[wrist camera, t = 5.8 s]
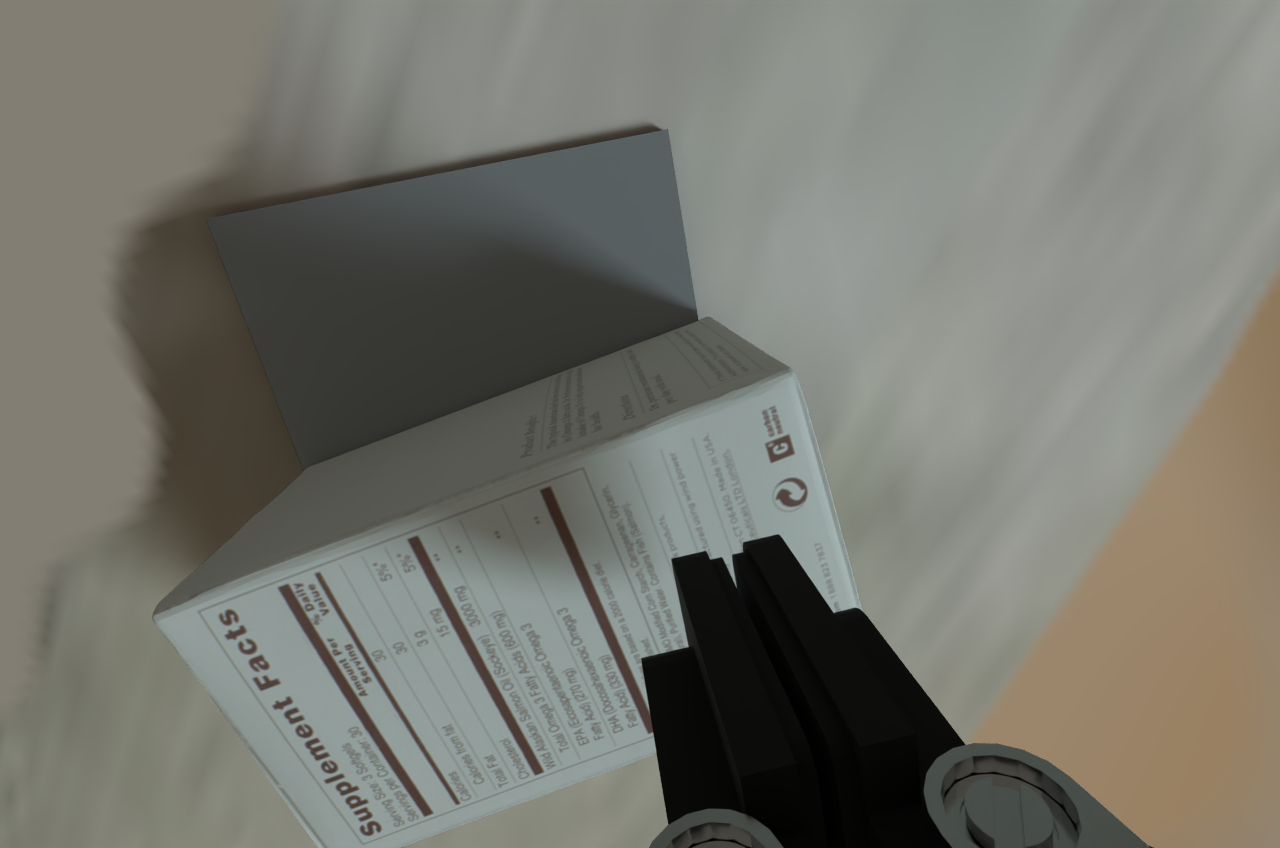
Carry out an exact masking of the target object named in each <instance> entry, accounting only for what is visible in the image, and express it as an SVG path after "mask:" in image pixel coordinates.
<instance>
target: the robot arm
mask: <svg viewBox="0 0 1280 848" xmlns="http://www.w3.org/2000/svg"><path fill="white" fill-rule="evenodd" d="M671 562H672V567H673V573H674V578H675V582H676V587H677V592H678V597H679V602H680V607H681V612H682V617H683V622H684V627H685V632H686V637H687V642H688V646H689V647H686V648H682V649H677V650H673V651H669V652H665V653H660V654H656V655H652V656H648V657H643V658H641V662H642V668H643V674H644V680H645V687H646V693H647V699H648V705H649V711H650V717H651V723H652V729H653V735H654V741H655V747H656V753H657V759H658V765H659V771H660V777H661V783H662V789H663V795H664V801H665V807H666V813H667V819H668V826H667V827H666V828H665V829H664V830H663V831H662V832H661V833H660V834H659V835H658V836H657V837H656V838H655V839H654V840H653V841H652V843H651V845H650V847H649V848H1153V847H1150V846H1148V845H1147V844H1146V843H1145V842H1143V841H1142V840H1141V839H1140V838H1139V837H1138V836H1137V835H1136V834H1134V833H1133V832H1132V831H1131V830H1130V829H1129V828H1127V827H1126V826H1125V825H1124V824H1123V823H1122V822H1121V821H1120V820H1119V819H1117V818H1116V817H1115V816H1114V815H1113V814H1112V813H1111V812H1109V811H1108V810H1107V809H1106V808H1105V807H1104V806H1103V805H1101V804H1100V803H1099V802H1098V801H1097V800H1096V799H1095V798H1094V797H1092V796H1091V795H1090V794H1089V793H1088V792H1087V791H1086V790H1085V789H1083V788H1082V787H1081V786H1080V785H1079V784H1078V783H1076V782H1075V781H1074V780H1073V779H1072V778H1071V777H1070V776H1068V775H1067V774H1065V773H1064V772H1063V771H1061V770H1060V769H1058V768H1057V767H1056V766H1054V765H1053V764H1051V763H1050V762H1048V761H1046V760H1044V759H1042V758H1040V757H1038V756H1035V755H1033V754H1031V753H1029V752H1027V751H1025V750H1022V749H1018V748H1013V747H1009V746H1005V745H1001V744H988V743H987V744H986V743H972V744H968V745H965V744H964V742H963V741H962V740H961V738H960V737H959V736H958V734H957V733H956V732H955V731H954V729H953V728H952V727H951V725H950V724H949V723H948V721H947V720H946V719H945V717H944V716H943V715H942V714H941V712H940V711H939V710H938V708H937V707H936V706H935V704H934V703H933V702H932V700H931V699H930V698H929V697H928V695H927V694H926V693H925V691H924V690H923V689H922V687H921V686H920V685H919V683H918V682H917V681H916V680H915V678H914V677H913V676H912V674H911V673H910V672H909V670H908V669H907V668H906V667H905V665H904V664H903V663H902V661H901V660H900V659H899V657H898V656H897V655H896V653H895V652H894V651H893V650H892V648H891V647H890V646H889V644H888V643H887V642H886V640H885V639H884V638H883V636H882V635H881V634H880V633H879V631H878V630H877V629H876V627H875V626H874V625H873V623H872V622H871V621H870V619H869V618H868V617H867V616H866V615H865V614H864V612H863V611H862V610H861V609H858V608H856V607H855V608H851V609H847V610H843V611H838V612H834V613H833V611H832V610H831V608H830V607H829V605H828V604H827V602H826V601H825V599H824V598H823V597H822V595H821V594H820V592H819V591H818V589H817V588H816V586H815V585H814V583H813V582H812V580H811V579H810V578H809V576H808V575H807V573H806V572H805V570H804V569H803V567H802V566H801V564H800V563H799V562H798V560H797V559H796V557H795V556H794V554H793V553H792V551H791V550H790V548H789V547H788V545H787V544H786V543H785V541H784V540H783V538H782V537H781V536H780V535H779V534H777V535H772V536H768V537H764V538H759V539H755V540H750V541H746V542H743V552H741V553H737V554H733V555H732V562H733V568H734V574H735V580H736V585H735V583H734V581H733V579H732V577H731V575H730V572H729V570H728V568H727V566H726V564H725V562H724V560H723V558H722V557H719V558H715V559H711V560H710V558H709V556H708V553H707V552H706V551H703V552H698V553H694V554H689V555H685V556H681V557H676V558H672V559H671ZM736 586H737V587H736Z"/></svg>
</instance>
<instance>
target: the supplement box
mask: <svg viewBox="0 0 1280 848" xmlns="http://www.w3.org/2000/svg"><path fill="white" fill-rule="evenodd" d="M777 534H779V535H780V536H781V537H782V538H783V540H784V541H785V543H786V544H787V545H788V547H789V548H790V550H791V551H792V553H793V554H794V556H795V557H796V559H797V560H798V562H799V563H800V564H801V566H802V567H803V569H804V570H805V572H806V573H807V575H808V576H809V578H810V579H811V580H812V582H813V583H814V585H815V586H816V588H817V589H818V591H819V592H820V594H821V595H822V597H823V598H824V599H825V601H826V602H827V604H828V605H829V607H830V608H831V610H832V611H833V613H834V612H838V611H843V610H847V609H851V608H855V607H856V608H858V609H861V610H862V607H861V603H860V600H859V596H858V592H857V588H856V584H855V580H854V576H853V572H852V568H851V565H850V561H849V558H848V554H847V550H846V547H845V543H844V539H843V536H842V532H841V528H840V524H839V520H838V517H837V513H836V509H835V505H834V502H833V498H832V494H831V491H830V487H829V483H828V480H827V476H826V472H825V469H824V465H823V461H822V458H821V454H820V451H819V447H818V443H817V440H816V436H815V433H814V430H813V426H812V423H811V420H810V416H809V412H808V409H807V405H806V401H805V398H804V395H803V392H802V389H801V386H800V383H799V381H798V378H797V376H796V374H795V372H794V371H793V370H792V369H791V368H790V367H788V366H787V365H785V364H783V363H781V362H780V361H778V360H776V359H775V358H773V357H771V356H770V355H768V354H766V353H765V352H763V351H762V350H760V349H759V348H757V347H756V346H754V345H753V344H751V343H749V342H748V341H746V340H745V339H743V338H742V337H740V336H738V335H737V334H735V333H734V332H732V331H731V330H729V329H728V328H726V327H725V326H723V325H722V324H720V323H719V322H717V321H716V320H714V319H713V318H711V317H705V318H703V319H701V320H699V321H696V322H694V323H691V324H688V325H686V326H683V327H680V328H678V329H675V330H672V331H670V332H667V333H665V334H662V335H659V336H657V337H654V338H651V339H648V340H645V341H643V342H640V343H637V344H635V345H632V346H629V347H627V348H624V349H622V350H619V351H617V352H614V353H611V354H609V355H606V356H603V357H601V358H598V359H595V360H593V361H590V362H588V363H585V364H582V365H580V366H577V367H574V368H571V369H569V370H566V371H563V372H561V373H558V374H555V375H552V376H550V377H547V378H544V379H542V380H539V381H536V382H534V383H531V384H529V385H526V386H523V387H521V388H518V389H515V390H513V391H510V392H507V393H505V394H502V395H499V396H496V397H494V398H491V399H488V400H486V401H483V402H481V403H478V404H475V405H473V406H470V407H467V408H465V409H462V410H459V411H457V412H454V413H451V414H449V415H446V416H443V417H440V418H438V419H435V420H432V421H430V422H427V423H425V424H422V425H419V426H417V427H414V428H411V429H409V430H406V431H403V432H401V433H398V434H395V435H393V436H390V437H387V438H385V439H382V440H379V441H377V442H374V443H371V444H369V445H366V446H363V447H361V448H358V449H355V450H353V451H350V452H347V453H345V454H342V455H340V456H337V457H334V458H332V459H329V460H327V461H324V462H321V463H318V464H316V465H313V466H310V467H308V468H307V469H306V470H304V471H303V472H302V474H301V475H300V476H299V477H298V478H297V479H295V480H294V481H293V482H292V483H291V484H290V485H289V486H288V487H287V488H286V489H284V490H283V491H282V492H281V493H280V494H279V495H278V496H277V497H276V498H275V499H273V500H272V501H271V502H270V503H269V504H268V505H267V506H266V507H265V508H263V509H262V510H261V511H260V512H258V513H257V514H255V515H254V516H253V517H252V518H251V519H250V520H249V521H248V522H247V523H246V524H245V525H244V526H243V527H242V528H241V529H240V530H239V531H238V532H237V533H236V534H235V535H234V536H233V537H232V538H230V539H229V540H228V541H227V542H226V543H225V544H224V545H223V546H221V547H220V548H219V549H218V550H217V551H216V552H215V553H214V554H213V555H211V556H210V557H209V558H208V559H207V560H206V561H205V562H204V563H203V564H202V565H201V566H199V567H198V568H197V569H196V570H195V571H194V572H193V573H192V574H190V575H189V576H188V577H187V578H186V579H185V580H183V581H182V582H181V583H180V584H179V585H178V586H177V587H176V588H175V589H174V590H173V591H172V592H170V593H169V594H168V595H167V596H166V597H165V598H163V599H162V600H161V601H160V602H159V604H158V605H157V606H156V608H155V610H154V612H153V615H152V619H153V621H154V623H155V624H156V625H157V626H158V628H159V629H160V630H161V632H162V633H163V634H164V635H165V637H166V638H167V639H168V641H169V642H170V643H171V645H172V646H173V647H174V649H175V650H176V651H177V653H178V654H179V655H180V657H181V658H182V659H183V661H184V662H185V663H186V665H187V666H188V667H189V669H190V670H191V671H192V673H193V674H194V675H195V676H196V678H197V679H198V680H199V682H200V683H201V684H202V686H203V687H204V688H205V689H206V691H207V692H208V694H209V695H210V697H211V698H212V699H213V701H214V702H215V704H216V705H217V707H218V708H219V709H220V711H221V712H222V714H223V715H224V716H225V718H226V719H227V721H228V722H229V724H230V725H231V727H232V728H233V729H234V731H235V732H236V734H237V735H238V737H239V738H240V740H241V741H242V742H243V744H244V745H245V747H246V748H247V750H248V751H249V753H250V754H251V755H252V757H253V758H254V760H255V761H256V762H257V764H258V765H259V767H260V768H261V769H262V771H263V772H264V774H265V775H266V776H267V778H268V779H269V781H270V782H271V783H272V785H273V786H274V787H275V789H276V790H277V792H278V793H279V794H280V796H281V797H282V798H283V800H284V801H285V802H286V804H287V805H288V807H289V808H290V809H291V811H292V812H293V814H294V815H295V817H296V818H297V820H298V821H299V822H300V824H301V825H302V826H303V828H304V829H305V830H306V832H307V833H308V835H309V836H310V837H311V839H312V840H313V841H314V843H315V844H316V845H317V847H318V848H401V847H404V846H406V845H409V844H412V843H414V842H417V841H420V840H422V839H425V838H428V837H430V836H433V835H436V834H438V833H441V832H444V831H446V830H449V829H452V828H454V827H457V826H460V825H463V824H466V823H469V822H471V821H474V820H477V819H480V818H483V817H485V816H488V815H491V814H494V813H496V812H499V811H502V810H505V809H507V808H510V807H513V806H515V805H518V804H521V803H523V802H526V801H529V800H532V799H535V798H537V797H540V796H543V795H546V794H548V793H551V792H553V791H556V790H559V789H561V788H564V787H567V786H569V785H572V784H575V783H578V782H580V781H583V780H586V779H589V778H592V777H594V776H597V775H600V774H603V773H605V772H608V771H611V770H613V769H616V768H619V767H622V766H624V765H627V764H630V763H633V762H635V761H638V760H641V759H643V758H646V757H648V756H651V755H654V754H656V747H655V741H654V735H653V729H652V723H651V717H650V711H649V705H648V699H647V693H646V687H645V680H644V674H643V668H642V662H641V658H643V657H648V656H652V655H656V654H660V653H665V652H669V651H673V650H677V649H682V648H686V647H689V646H688V642H687V637H686V632H685V627H684V622H683V617H682V612H681V607H680V602H679V597H678V592H677V587H676V582H675V578H674V573H673V567H672V562H671V559H672V558H676V557H681V556H685V555H689V554H694V553H698V552H703V551H706V552H707V553H708V556H709V558H710V560H711V559H715V558H719V557H722V558H723V560H724V562H725V564H726V566H727V568H728V570H729V572H730V575H731V577H732V579H733V581H734V583H735V585H736V580H735V574H734V568H733V562H732V555H733V554H737V553H741V552H743V542H746V541H750V540H755V539H759V538H764V537H768V536H772V535H777ZM736 587H737V586H736ZM862 611H863V610H862Z"/></svg>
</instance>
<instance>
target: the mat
mask: <svg viewBox="0 0 1280 848" xmlns="http://www.w3.org/2000/svg"><path fill="white" fill-rule="evenodd" d="M206 221H207V223H208V226H209V229H210V231H211V234H212V236H213V239H214V241H215V244H216V247H217V249H218V252H219V254H220V257H221V260H222V262H223V265H224V267H225V270H226V272H227V275H228V278H229V280H230V283H231V285H232V288H233V290H234V293H235V296H236V298H237V301H238V303H239V306H240V308H241V311H242V314H243V316H244V319H245V321H246V324H247V326H248V329H249V332H250V334H251V337H252V339H253V342H254V345H255V347H256V350H257V352H258V355H259V357H260V360H261V363H262V365H263V368H264V370H265V373H266V375H267V378H268V381H269V383H270V386H271V388H272V391H273V393H274V396H275V399H276V401H277V404H278V406H279V409H280V411H281V414H282V417H283V419H284V422H285V424H286V427H287V430H288V432H289V435H290V437H291V440H292V442H293V445H294V448H295V450H296V453H297V455H298V458H299V460H300V463H301V466H302V468H303V471H304V470H306V469H307V468H308V467H310V466H313V465H316V464H318V463H321V462H324V461H327V460H329V459H332V458H334V457H337V456H340V455H342V454H345V453H347V452H350V451H353V450H355V449H358V448H361V447H363V446H366V445H369V444H371V443H374V442H377V441H379V440H382V439H385V438H387V437H390V436H393V435H395V434H398V433H401V432H403V431H406V430H409V429H411V428H414V427H417V426H419V425H422V424H425V423H427V422H430V421H432V420H435V419H438V418H440V417H443V416H446V415H449V414H451V413H454V412H457V411H459V410H462V409H465V408H467V407H470V406H473V405H475V404H478V403H481V402H483V401H486V400H488V399H491V398H494V397H496V396H499V395H502V394H505V393H507V392H510V391H513V390H515V389H518V388H521V387H523V386H526V385H529V384H531V383H534V382H536V381H539V380H542V379H544V378H547V377H550V376H552V375H555V374H558V373H561V372H563V371H566V370H569V369H571V368H574V367H577V366H580V365H582V364H585V363H588V362H590V361H593V360H595V359H598V358H601V357H603V356H606V355H609V354H611V353H614V352H617V351H619V350H622V349H624V348H627V347H629V346H632V345H635V344H637V343H640V342H643V341H645V340H648V339H651V338H654V337H657V336H659V335H662V334H665V333H667V332H670V331H672V330H675V329H678V328H680V327H683V326H686V325H688V324H691V323H694V322H696V321H698V316H697V309H696V303H695V297H694V291H693V284H692V278H691V272H690V265H689V259H688V253H687V247H686V240H685V234H684V228H683V221H682V215H681V209H680V202H679V196H678V190H677V184H676V177H675V171H674V165H673V158H672V152H671V146H670V140H669V133H668V129H666V130H661V131H656V132H651V133H646V134H640V135H635V136H630V137H625V138H620V139H615V140H609V141H604V142H599V143H594V144H589V145H584V146H578V147H573V148H568V149H563V150H558V151H553V152H547V153H542V154H537V155H532V156H527V157H522V158H516V159H511V160H506V161H501V162H496V163H491V164H485V165H480V166H475V167H470V168H465V169H460V170H454V171H449V172H444V173H439V174H434V175H429V176H423V177H418V178H413V179H408V180H403V181H398V182H392V183H387V184H382V185H377V186H372V187H367V188H361V189H356V190H351V191H346V192H341V193H336V194H331V195H325V196H320V197H315V198H310V199H305V200H300V201H294V202H289V203H284V204H279V205H274V206H269V207H263V208H258V209H253V210H248V211H243V212H238V213H232V214H227V215H222V216H217V217H212V218H207V219H206Z"/></svg>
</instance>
